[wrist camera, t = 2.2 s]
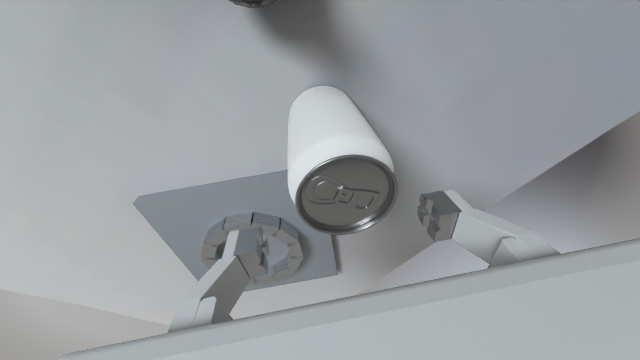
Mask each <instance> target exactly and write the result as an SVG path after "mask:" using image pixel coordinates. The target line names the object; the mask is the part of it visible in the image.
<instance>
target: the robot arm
mask: <svg viewBox="0 0 640 360" xmlns="http://www.w3.org/2000/svg"><path fill="white" fill-rule="evenodd" d="M419 201H420V202H421V205H420V206H419V207H418V216H419V219H420V221H421V223H422V224H423V225H424V226H426V227H428V231H427V232H428V233H429V234H430V236H431V237H432V239H433V240H434V242H435V241H441V240H447V239H452V240H453V241H454V242H456V243H458V244H459V245H461V246H462V247H464V248H466V249H467V250H469V251H470V252H472V253H474V254H475V255H477V256H478V257H480V258H481V259H483V260H484V261H486V262H487V263H489V266H488V268H487V269H484V270H479V271H475V272H469V273H464V274H459V275H455V276H450V277H445V278H439V279H435V280H430V281H425V282H420V283H415V284H410V285H405V286H400V287H395V288H390V289H385V290H380V291H375V292H370V293H365V294H360V295H355V296H350V297H345V298H340V299H335V300H330V301H325V302H320V303H316V304H311V305H306V306H301V307H296V308H291V309H286V310H281V311H276V312H271V313H266V314H261V315H256V316H251V317H246V318H241V319H236V320H233V319H232V317H231V316H230V315H229V313H230V312H231V310H232V308H233V307H234V305H235V304H236V302H237V300H238V299H239V297H240V296H241V294H242V292H243V291H244V289H245V287H246V286H247V284H248V283H249V281H250V278H255V277H259V276H264V275H267V273H268V261H267V259H266V258H267V257H268V255H269V244H268V240H267V238H266V236H264V235H263V231H264V230H263V228H262V226H255V227H249V228H243V229H239V230H232V231H230V232H229V234H228V238H227V241H226V245H225V249H224V253H223V256H222V259H219V260H218V261H217V262H216V263H215V264H214V265H213V266H212V267H211V268H210V269H209V270H208V272H207V273H206V274H205V275H204V276H203V277H202V278H201V279H200V280H199V281H198V282H197V283H196V285H195V286H194V287H193V288H192V289H191V290H190V291H189V292H188V293H187V294H186V295H185V296H184V297H183V299H182V300H181V301H180V302H179V304H178V306H177V309H176V312H175V314H174V317H173V320H172V322H171V325H170V328H169V330H168V333H166V334H161V335H157V336H151V337H146V338H142V339H137V340H132V341H127V342H122V343H117V344H112V345H107V346H102V347H97V348H92V349H86V350H81V351H76V352H72V353H69V354H66V355H64V356H61V357H60V358H58V359H57V360H640V238H638V239H633V240H628V241H623V242H618V243H613V244H609V245H603V246H599V247H594V248H588V249H583V250H579V251H573V252H568V253H564V254H560V253H559V252H558V251H557V250H556V249H554V248H553V247H552V246H551V245H550V244H548V243H547V242H546V241H545V240H544V239H543V238H541V237H540V236H539V235H538V234H537V233H536V232H534V231H531V230H529V229H526V228H524V227H521V226H519V225H516V224H513V223H511V222H509V221H506V220H504V219H501V218H498V217H496V216H493V215H491V214H488V213H486V212H483V211H481V210H478V209H473V208H472V207H471V206H470V205H469V204H468V203H467V202H466V201H465V200H464V199H463V198H462V197H461V196H460V195H459V194H458V193H457V192H456V191H455V190H453V189H451V188H450V189H445V190H441V191H436V192H431V193H426V194H421V196H420V199H419Z"/></svg>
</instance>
